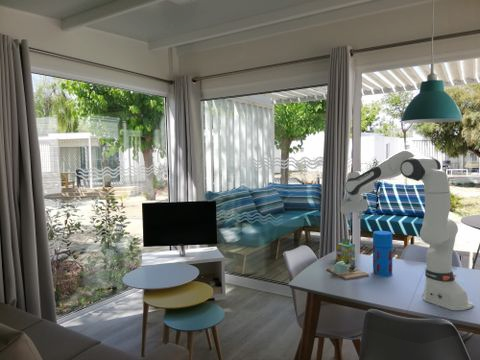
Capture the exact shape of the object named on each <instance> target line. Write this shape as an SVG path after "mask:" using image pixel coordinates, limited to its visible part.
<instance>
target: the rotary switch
mask: <svg viewBox="0 0 480 360" xmlns="http://www.w3.org/2000/svg"><path fill="white" fill-rule="evenodd" d="M347 265H348V264H346V263H344V261H336V262H335V264H333V267H334V271H335V272H337V273H340V274H341V273H345V272H347Z"/></svg>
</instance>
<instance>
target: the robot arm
mask: <svg viewBox="0 0 480 360" xmlns="http://www.w3.org/2000/svg"><path fill="white" fill-rule="evenodd" d="M441 168H442V165H441V162H440V161H439V159H437V158H435V157H433V156H416V155H415V154H414V153H413V151H411V150H409V149H403V150H400V151H398V152H396V153H393V154H392V155H390V156H389V157H388V158H386V159H384V160H383V161H382V162H380V163H378V164H377V165H376V166H374V167H372V168H370V169H368V170H367V171H365V172H364V173H362V172H361V171H357V170H355V171H350V172H348V173H347V177H346V182H345V186H344V187H345V191H346V198H343V199H342V200H341V203H340V204H341V205H340V213H341V214H343V215H345V218H346V220H347V221H351V219H352V218H351V217H350V215H351V214H352V213H353V214H354V213H358V215H357V219H359V220H360V219H362V216H363V214H364V212H366V211H367V210H368V207H369V205H368V202H369V201H368V196H367V195H365V194H370V193H372V192H373V191H374V189H375V187H376V185H375V184H376V183H375V181H379V180H380V181H381V180H387V179H389V180H390V179H394V178H396V177H398V176H401V175H402V176H403V177H405V178H407V179H410V180H412V181H417V182H419V181H422V183H423V185H424V186H423V187H424V188H423V189H424V214H423V221H422V226H421V228H420V231H419V236H420V239H421V240H422V242H424V243H425V244H427V245H429V246H428V249H427V251H426V267H425V271H424V276H425V284H424V290H423V293H422V301H425V302H428V303H430V304H433V305H436V306H439V307H440V308H441V307H442V308H444V309H447V310H450V311H465V310H469V309H472V308H473V307H474V303H473V302H471V301H470V300H468V294H467V291H466V290H465V289H464V288H463V287H462V286H461V285H460V284H459V283H458V282H457V281H456V279H455V278H457V274H454V272H453V270H452V268H453V267H452V265H453V264H452V262H453V258H452V257H453V251H454V247H455V241H456V238H457V237H456V236H457V234H458V231H459V227H458V224H457V222H455V221H454V220H453V219H450V218H449V215H450V211H451V208H452V206H451V191H450V190H451V188H450V182H449V179H448V178H449V177H448V175H447V173H446V172H445V170H442V169H441Z"/></svg>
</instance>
